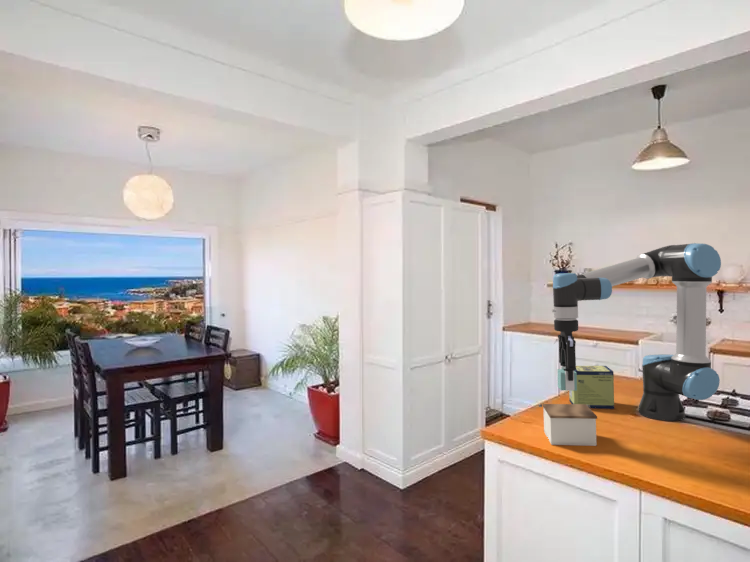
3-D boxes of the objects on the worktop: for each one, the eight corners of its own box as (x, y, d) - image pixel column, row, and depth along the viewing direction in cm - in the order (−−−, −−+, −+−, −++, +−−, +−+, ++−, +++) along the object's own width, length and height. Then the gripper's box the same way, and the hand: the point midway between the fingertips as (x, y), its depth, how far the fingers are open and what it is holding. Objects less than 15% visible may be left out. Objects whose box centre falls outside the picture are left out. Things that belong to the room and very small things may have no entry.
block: (573, 386, 157) (572, 369, 157) (576, 390, 152) (576, 372, 152) (557, 386, 158) (557, 369, 158) (561, 390, 153) (560, 372, 153)
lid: (585, 406, 160) (585, 404, 160) (597, 418, 148) (597, 416, 148) (542, 406, 163) (542, 403, 163) (550, 418, 150) (550, 415, 150)
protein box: (615, 409, 184) (614, 370, 184) (574, 408, 188) (573, 370, 187) (607, 401, 195) (606, 365, 194) (568, 401, 198) (567, 365, 197)
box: (590, 432, 161) (589, 404, 160) (601, 445, 148) (600, 415, 148) (539, 431, 164) (538, 403, 163) (546, 444, 151) (545, 415, 151)
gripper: (548, 316, 164) (550, 380, 164) (560, 322, 146) (562, 394, 147) (570, 315, 162) (572, 381, 163) (585, 322, 145) (587, 395, 145)
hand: (567, 387), depth 155 cm, fingers closed on block, 5 cm apart
